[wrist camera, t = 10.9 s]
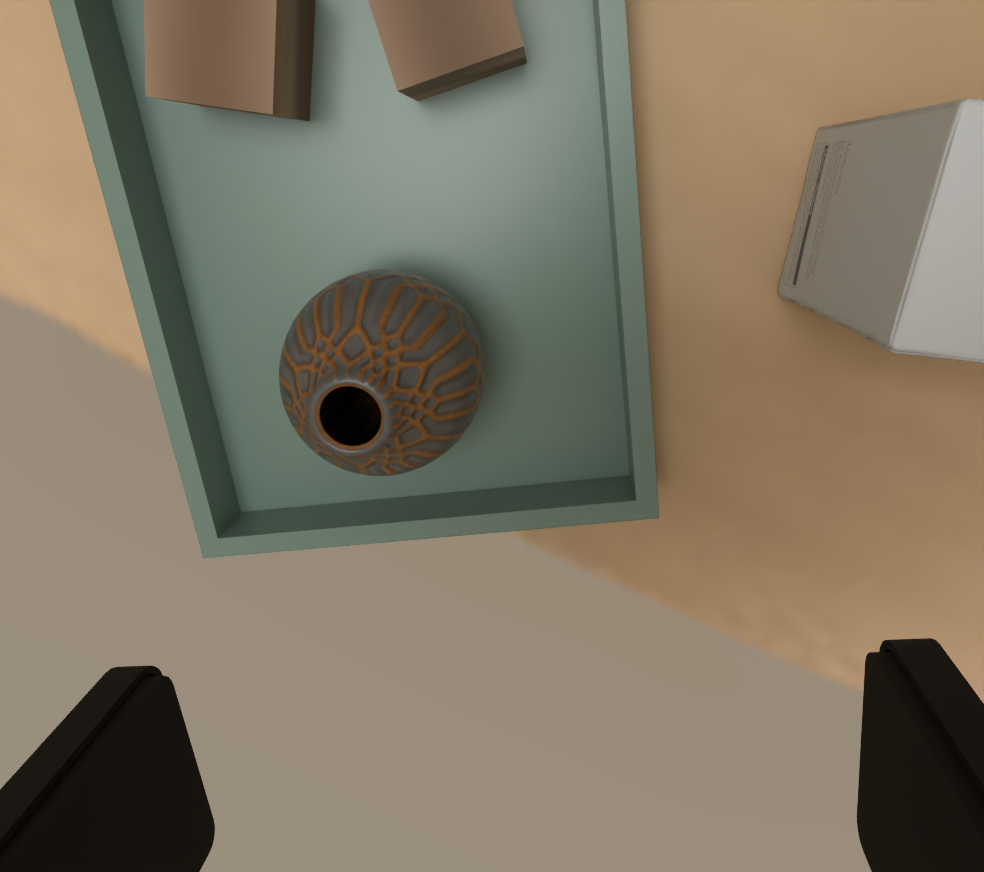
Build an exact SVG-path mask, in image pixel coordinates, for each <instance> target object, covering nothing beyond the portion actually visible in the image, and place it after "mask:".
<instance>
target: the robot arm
mask: <svg viewBox="0 0 984 872" xmlns="http://www.w3.org/2000/svg"><path fill="white" fill-rule="evenodd" d="M857 825H858V832H859V838H860V841H861V845H862V848H863V851H864V854H865V856H866V859H867V861H868V863H869V866H870V868H871V871H872V872H984V704H983V702H982V701H981V700H980V698H979V697H978V695H977V694H976V693H975V691H974V690H973V689H972V687H971V686H970V685H969V683H968V682H967V681H966V679H965V678H964V677H963V675H962V674H961V672H960V671H959V670H958V668H957V667H956V666H955V664H954V663H953V662H952V660H951V659H950V658H949V656H948V655H947V653H946V652H945V651H944V649H943V648H942V647H941V645H940V644H939V643H938V642H937V641H936V640H934V639H931V638H930V639H901V640H885V641H883V642H882V644H881V647H880V652H870V653H868V654H867V656H866V662H865V677H864V696H863V715H862V732H861V751H860V770H859V789H858V806H857ZM214 833H215V825H214V819H213V816H212V813H211V809H210V806H209V803H208V800H207V796H206V792H205V789H204V786H203V782H202V779H201V776H200V772H199V769H198V766H197V763H196V759H195V756H194V752H193V749H192V746H191V743H190V739H189V736H188V732H187V729H186V725H185V722H184V719H183V716H182V712H181V709H180V705H179V702H178V699H177V695H176V692H175V689H174V685H173V683H172V681H171V679H170V678H169V677H167V676H163V675H162V673H161V671H160V670H159V669H158V668H156V667H154V666H132V667H131V666H129V667H115V668H111V669H110V670H109V671H108V672H106V673H105V675H103V677H102V678H101V679H100V680H99V681H98V682H97V683H96V684H95V686H94V687H93V688H92V689H91V690H90V691H89V692H88V693H87V694H86V695H85V696H84V698H83V699H82V700H81V701H80V702H79V703H78V704H77V705H76V706H75V708H74V709H73V710H72V711H71V712H70V713H69V714H68V715H67V716H66V718H65V719H64V720H63V721H62V722H61V723H60V724H59V725H58V726H57V728H56V729H55V730H54V731H53V732H52V733H51V734H50V735H49V736H48V737H47V739H46V740H45V741H44V742H43V743H42V744H41V745H40V746H39V747H38V748H37V750H36V751H35V752H34V753H33V754H32V755H31V756H30V757H29V758H28V760H27V761H26V762H25V763H24V764H23V765H22V766H21V767H20V769H19V770H18V771H17V772H16V773H15V774H14V775H13V776H12V777H11V778H10V779H9V781H8V782H7V783H6V784H5V785H4V786H3V787H2V788H1V790H0V872H199V871H200V869H201V868H202V866H203V864H204V862H205V860H206V858H207V856H208V854H209V852H210V850H211V847H212V844H213V840H214Z"/></svg>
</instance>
